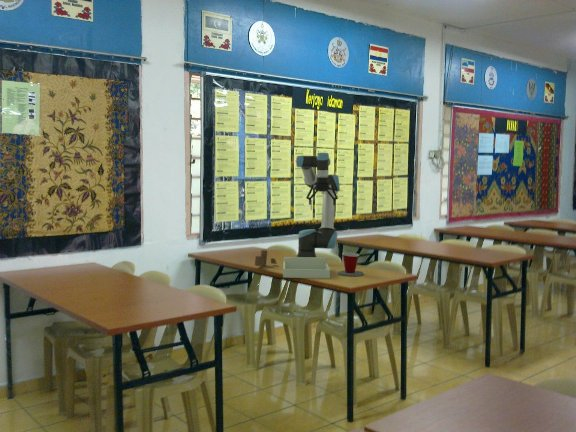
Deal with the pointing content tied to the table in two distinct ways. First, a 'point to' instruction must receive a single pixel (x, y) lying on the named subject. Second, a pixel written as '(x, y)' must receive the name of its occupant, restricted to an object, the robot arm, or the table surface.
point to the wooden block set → (263, 259)
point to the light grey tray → (305, 267)
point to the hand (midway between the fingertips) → (321, 210)
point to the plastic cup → (350, 261)
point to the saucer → (343, 273)
